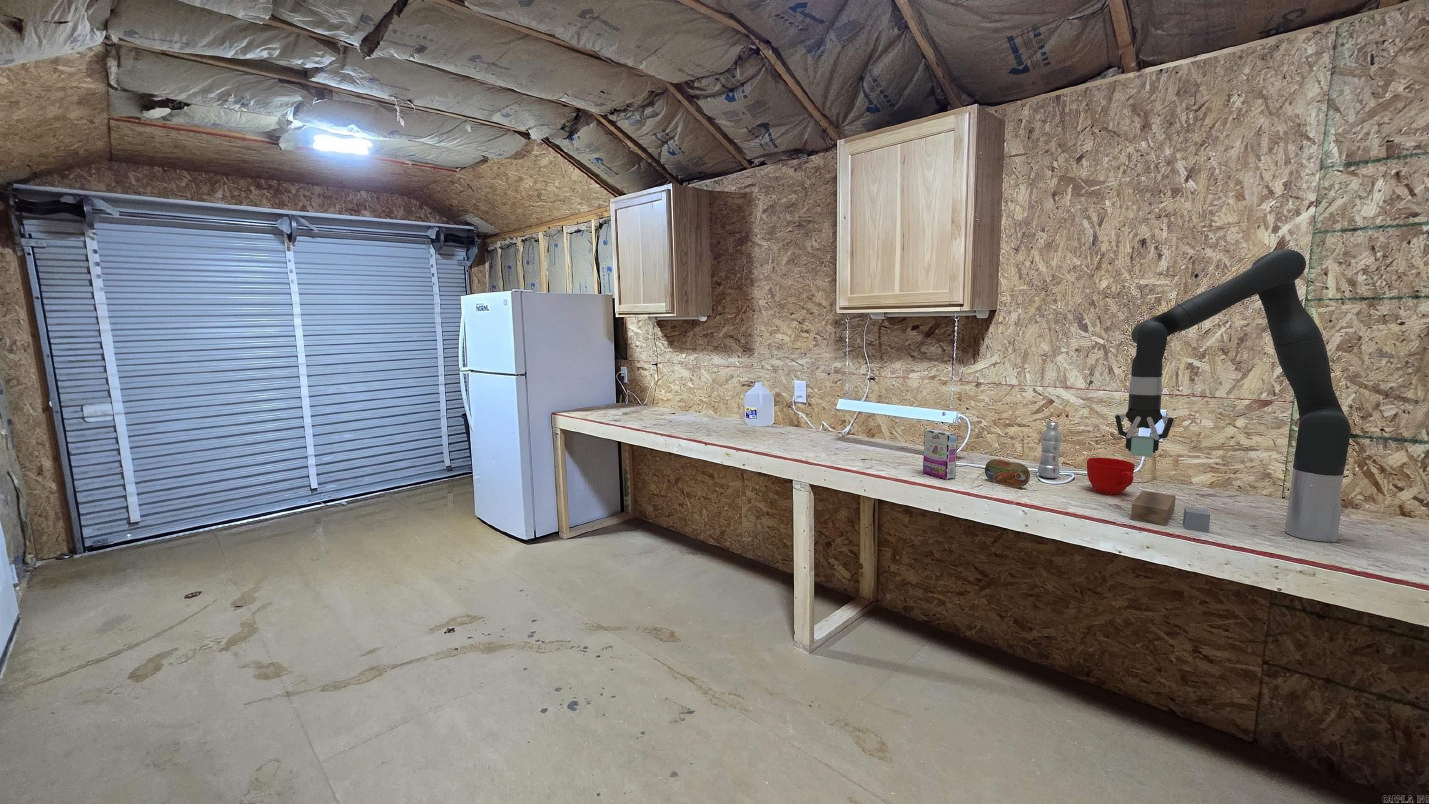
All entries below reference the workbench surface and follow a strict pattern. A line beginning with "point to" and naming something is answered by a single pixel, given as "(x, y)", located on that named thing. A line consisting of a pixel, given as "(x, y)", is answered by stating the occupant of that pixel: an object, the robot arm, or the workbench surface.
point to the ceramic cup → (1110, 474)
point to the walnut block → (1153, 508)
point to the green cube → (1142, 446)
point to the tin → (1007, 473)
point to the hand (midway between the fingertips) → (1141, 451)
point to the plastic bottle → (1050, 451)
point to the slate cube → (1196, 519)
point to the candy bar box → (940, 453)
